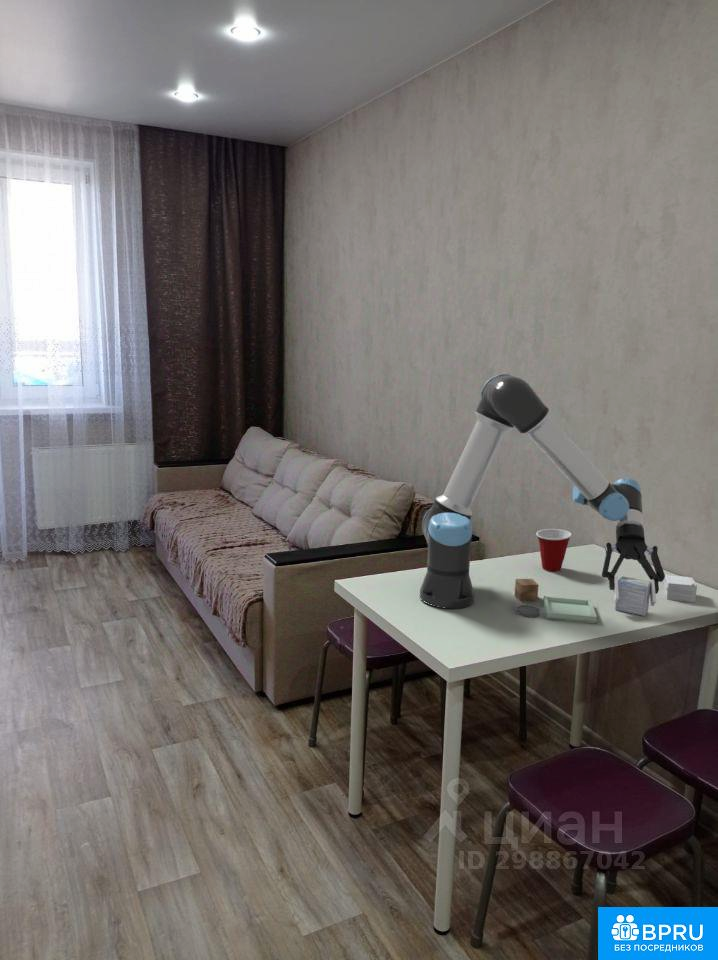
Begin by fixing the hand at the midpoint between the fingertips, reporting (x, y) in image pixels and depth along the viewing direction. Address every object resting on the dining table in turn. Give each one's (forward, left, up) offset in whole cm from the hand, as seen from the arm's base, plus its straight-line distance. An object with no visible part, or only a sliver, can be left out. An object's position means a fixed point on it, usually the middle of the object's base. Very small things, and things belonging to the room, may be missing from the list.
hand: (634, 602), depth 194 cm
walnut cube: (-28, +6, -4) cm, 29 cm away
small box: (+16, +19, -4) cm, 25 cm away
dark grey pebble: (-28, -5, -4) cm, 29 cm away
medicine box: (0, +3, -4) cm, 5 cm away
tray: (-17, -2, -4) cm, 18 cm away
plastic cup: (-19, +35, -4) cm, 40 cm away
